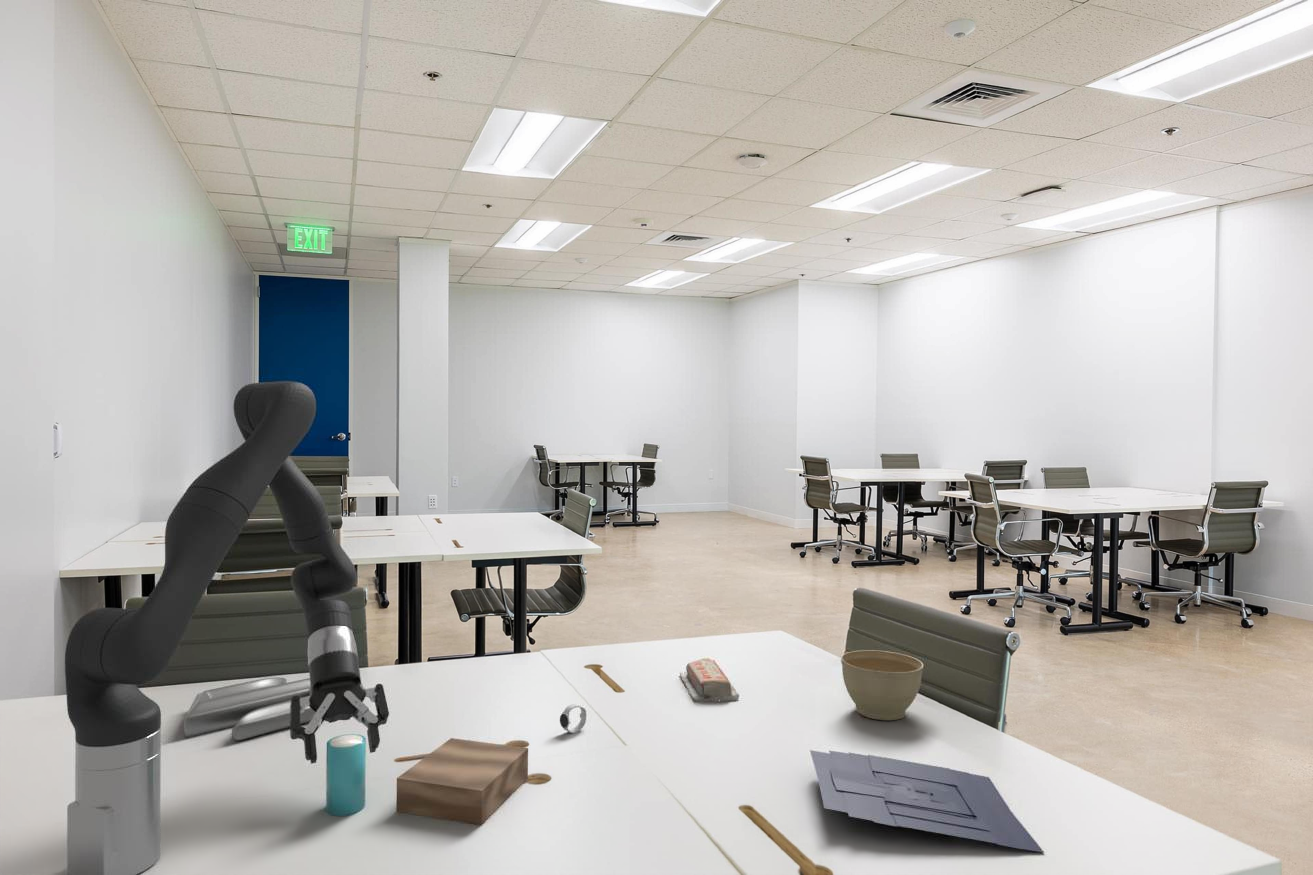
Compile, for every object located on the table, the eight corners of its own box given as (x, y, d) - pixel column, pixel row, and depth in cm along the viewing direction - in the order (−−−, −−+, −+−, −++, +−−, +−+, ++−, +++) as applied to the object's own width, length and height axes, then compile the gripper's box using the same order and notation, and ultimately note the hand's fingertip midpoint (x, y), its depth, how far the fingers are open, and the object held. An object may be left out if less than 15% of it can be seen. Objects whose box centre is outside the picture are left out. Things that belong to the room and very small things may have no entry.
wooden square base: (481, 825, 116) (482, 790, 116) (396, 811, 120) (396, 778, 120) (527, 778, 132) (528, 748, 132) (450, 767, 135) (451, 737, 135)
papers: (806, 761, 137) (809, 740, 137) (985, 792, 135) (989, 771, 135) (823, 833, 113) (826, 808, 113) (1042, 873, 111) (1046, 847, 110)
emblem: (248, 662, 175) (364, 673, 169) (248, 687, 175) (364, 698, 169) (141, 707, 147) (276, 720, 142) (141, 736, 148) (276, 750, 142)
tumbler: (350, 818, 118) (350, 750, 117) (317, 813, 119) (318, 745, 119) (372, 801, 123) (373, 736, 123) (341, 796, 124) (342, 732, 124)
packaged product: (740, 680, 170) (694, 681, 169) (740, 702, 170) (693, 704, 169) (721, 655, 188) (679, 656, 187) (721, 676, 188) (679, 677, 187)
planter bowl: (939, 722, 160) (940, 667, 160) (872, 732, 154) (873, 675, 154) (888, 696, 175) (889, 646, 175) (824, 704, 169) (825, 653, 169)
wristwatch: (558, 732, 151) (559, 706, 151) (579, 726, 155) (579, 700, 155) (568, 737, 149) (568, 710, 149) (589, 730, 153) (589, 704, 153)
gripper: (287, 654, 126) (295, 753, 117) (381, 643, 133) (396, 735, 124) (284, 678, 131) (291, 775, 121) (375, 666, 138) (388, 757, 128)
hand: (344, 755), depth 122 cm, fingers open, 8 cm apart
